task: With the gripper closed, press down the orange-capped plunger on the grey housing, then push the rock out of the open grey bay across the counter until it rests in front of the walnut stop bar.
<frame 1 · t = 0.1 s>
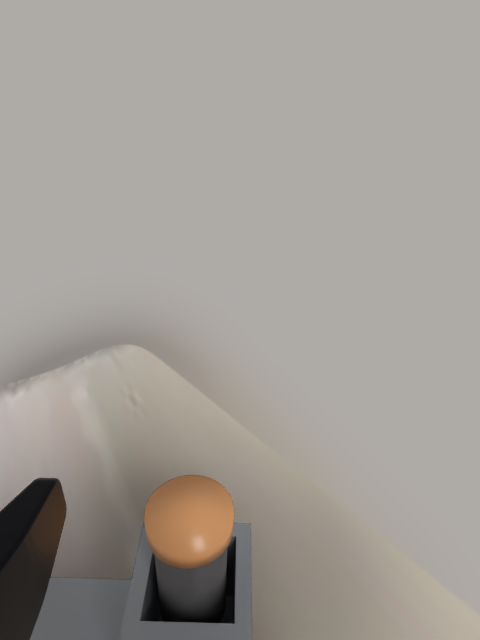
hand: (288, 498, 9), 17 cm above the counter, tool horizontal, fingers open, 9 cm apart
plunger: (191, 561, 17), point 8 cm above the counter, slide at 0.0 cm
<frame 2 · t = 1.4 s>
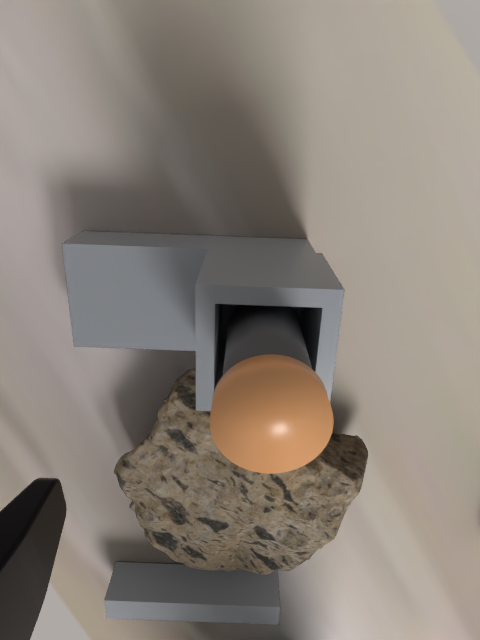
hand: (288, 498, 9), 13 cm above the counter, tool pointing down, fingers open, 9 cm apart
rock: (231, 457, 25), on the counter
plunger: (266, 367, 14), point 8 cm above the counter, slide at 0.0 cm
bay: (196, 460, 25), on the counter
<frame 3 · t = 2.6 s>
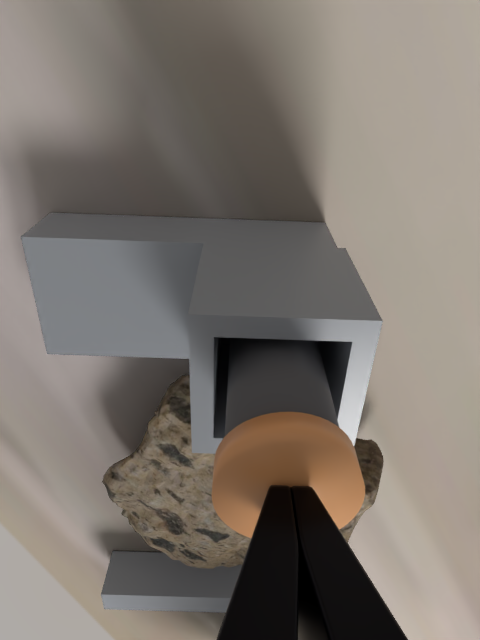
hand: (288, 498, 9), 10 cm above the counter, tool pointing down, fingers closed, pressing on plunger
rock: (231, 455, 23), on the counter
plunger: (278, 399, 11), point 7 cm above the counter, slide at 0.7 cm, touching gripper
bay: (194, 459, 23), on the counter
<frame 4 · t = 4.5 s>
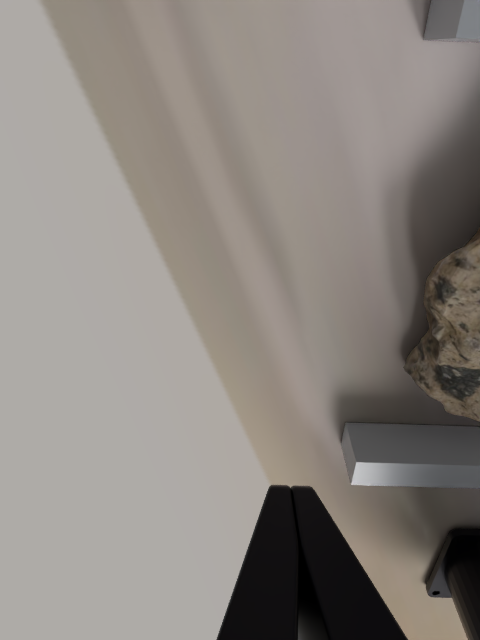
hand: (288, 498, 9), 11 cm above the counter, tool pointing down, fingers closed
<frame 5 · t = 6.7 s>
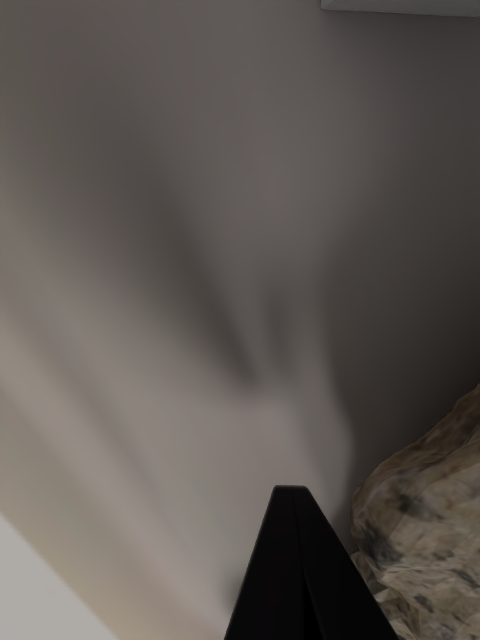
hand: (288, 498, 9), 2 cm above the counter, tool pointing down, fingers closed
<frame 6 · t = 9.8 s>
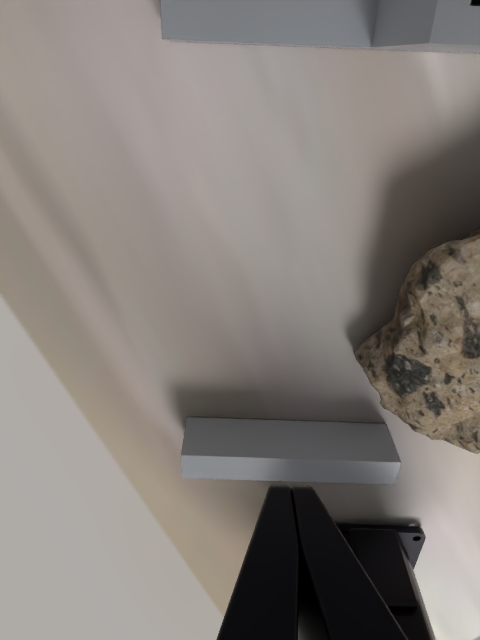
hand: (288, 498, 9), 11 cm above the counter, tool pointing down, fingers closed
bay: (303, 274, 19), on the counter
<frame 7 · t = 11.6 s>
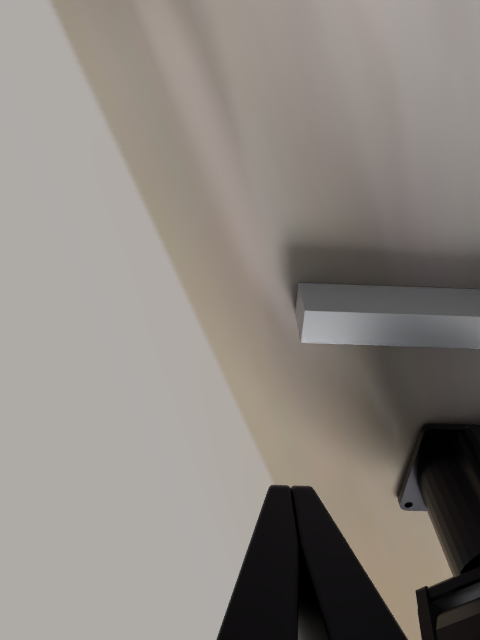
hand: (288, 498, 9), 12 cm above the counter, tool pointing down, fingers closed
bay: (464, 80, 16), on the counter
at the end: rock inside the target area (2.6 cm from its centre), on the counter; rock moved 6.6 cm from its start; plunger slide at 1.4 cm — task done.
